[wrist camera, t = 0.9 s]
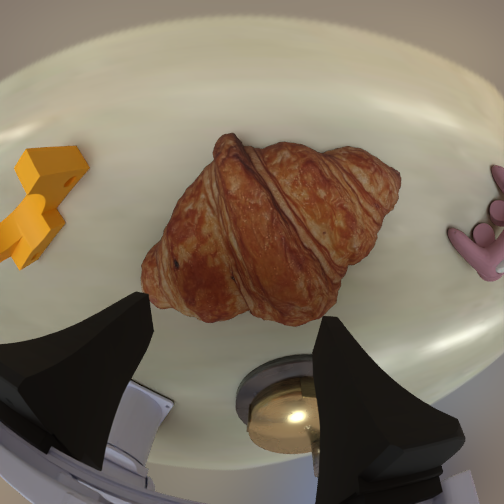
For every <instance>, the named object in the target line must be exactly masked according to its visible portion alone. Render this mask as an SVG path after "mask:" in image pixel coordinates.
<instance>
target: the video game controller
mask: <svg viewBox="0 0 504 504" xmlns="http://www.w3.org/2000/svg"><path fill="white" fill-rule="evenodd" d="M491 171H492V174H493V177H494V179H495V181H496V183H497V185H498V186H499V188H500V189H501V191H502V192H503V194H504V168H503V167H501V166H497V165H494V166H493V167H492V170H491ZM490 218H491V221H492V222H493V223H494V224H495V225H497V226H504V201H501V200H496V201H494V202H493V203H492V204H491V206H490ZM448 237H449V239H450V241H451V243H452V244H453V246H454V247H455V248H456V250H457V251H458V252H459V253H460V254H461V255H462V257H463V258H464V259H465V260H466V261H467V262H468V263H469V264H470V265H471V266H472V267H473V268H474V269H475V270H476V271H477V273H478V274H479V276H480V277H481V278H482V279H484V280H485V281H489V282H490V281H495V280H498V279H499V278H501V276H502V275H503V274H504V230H503V231H502V233H501V234H500V235H499V237H498V238H497V239H496V240H495V234H494V231H493V229H492V227H491V226H490V225H488V224H486V223H481V224H479V225H477V226H476V227H475V229H474V232H473V239H474V242H473V241H472V240H471V239H470V238H469V237H467V236H466V235H465V234H464V233H463V232H461V231H459V230H458V229H455V228H450V229H449V230H448Z"/></svg>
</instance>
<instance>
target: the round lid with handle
mask: <svg viewBox="0 0 504 504" xmlns="http://www.w3.org/2000/svg"><path fill="white" fill-rule="evenodd" d="M247 432H249V436H250V438H251V440H252V441H253V442H254V443H255V444H256V445H258V446H259V447H261V448H263V449H265V450H268V451H272V452H276V453H283V454H299V453H307V452H312V457H313V466H314V475H315V477H318V473H319V454H320V424H319V414H318V406H317V399H316V393H315V386H314V379H313V377H296V378H290V379H286V380H282V381H279V382H276V383H274V384H272V385H269V386H268V387H266V388H264V389H263V390H261V391H260V392H259V393H258V394H257V395H256V396H255V397H254V399H253V400H252V402H251V404H249V410H248V421H247Z"/></svg>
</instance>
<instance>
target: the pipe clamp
mask: <svg viewBox="0 0 504 504" xmlns="http://www.w3.org/2000/svg"><path fill="white" fill-rule="evenodd" d="M14 169H15V171H16V174H17V176H18V178H19V180H20V182H21V184H22V186H23V188H24V190H25V192H26V194H27V195H26V196H25V198H24V199H23V201H22V202H21V203H20V204H19V206H18V207H17V208H16V209H15V210H14V211H13V212H12V213H11V214H10V215H9V216H8V217H7V218H5V219H4V220H3V221H2V222H1V223H0V262H2V261H3V260H5V259H7V258H9V257H12V259H13V260H14V262H15V264H16V265H17V267H18V269H19V270H21V269H23V268H25V267H26V266H28V265H30V264H31V263H33V262H35V261H36V260H38V259H39V257H40V256H41V254H42V253H43V252H44V250H45V249H46V248H47V246H48V245H49V244H50V242H51V241H52V240H53V238H54V237H55V236H56V234H57V233H58V232H59V231H60V229H61V228H62V227H63V226H64V224H65V221H64V220H63V218H62V216H61V215H60V213H59V212H58V210H57V207H58V206H59V204H60V203H61V202H62V200H63V199H64V198H65V197H66V195H67V194H68V193H69V192H70V190H71V189H72V188H73V187H74V186H75V184H76V183H77V182H78V181H79V180H80V179H81V178H82V176H83V175H84V174H85V173H86V172H87V171H88V170H89V169H90V167H89V166H88V164H87V162H86V161H85V159H84V158H83V156H82V154H81V153H80V151H79V149H78V148H77V146H60V147H42V148H29V149H26V150H25V151H24V153H23V154H22V156H21V157H20V159H19V161H18V162H17V164H16V166H15V168H14Z"/></svg>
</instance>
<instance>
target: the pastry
mask: <svg viewBox="0 0 504 504" xmlns="http://www.w3.org/2000/svg"><path fill="white" fill-rule="evenodd" d="M213 157H214V160H213V161H212V162H211V163H210V164H209V165H207V166H206V167H205V168H204V170H203V171H202V172H201V174H200V175H199V176H198V177H197V179H196V180H195V181H194V182H193V183H192V184H191V185H190V186H189V187H188V188H187V189H186V191H185V193H184V194H183V195H182V197H181V198H180V199H179V200H178V202H177V204H176V206H175V208H174V210H173V213H172V216H171V219H170V221H169V222H168V224H167V226H166V227H165V229H164V233H163V236H162V238H161V240H160V241H159V242H158V243H157V244H155V245H154V246H153V247H152V248H151V249H150V251H149V252H148V253H147V255H146V257H145V259H144V261H143V263H142V265H141V267H142V274H141V286H142V291H143V293H147V294H149V300H150V302H152V303H153V304H154V305H155V306H156V307H157V308H159V309H167V308H174V309H175V310H177V311H180V312H181V313H182V314H184V315H186V316H189V317H196V318H197V319H198V320H202V321H204V322H206V323H214V322H216V321H225V320H229V319H232V318H234V317H235V316H237V315H238V314H242V313H244V312H246V311H249V310H250V313H251V314H252V315H253V316H255V317H258V318H262V319H263V320H271V321H276V322H278V323H281V324H284V325H287V326H294V327H296V326H299V325H303V324H306V323H307V322H309V321H312V320H316V319H320V318H321V317H322V316H323V315H324V314H325V313H326V312H327V311H328V310H329V309H330V308H331V307H332V306H333V305H334V304H335V303H336V301H337V296H338V290H339V288H340V287H341V279H342V278H343V277H344V276H345V274H346V272H347V268H348V265H355V264H357V263H358V262H360V261H361V260H362V259H363V258H365V257H366V256H367V255H368V254H369V252H370V251H371V250H372V249H373V247H374V246H375V242H376V240H377V233H378V231H379V230H380V228H381V226H382V222H383V219H384V217H385V215H386V214H388V213H389V212H390V211H391V210H393V209H394V205H395V204H396V203H397V201H398V199H399V196H398V192H399V189H400V187H401V177H400V172H398V171H397V170H395V169H394V168H392V167H389V166H387V165H386V164H385V163H383V162H382V161H380V160H379V159H378V158H377V157H375V156H373V155H371V154H370V153H368V152H367V151H365V150H363V149H361V148H353V147H349V146H346V147H342V148H337V149H334V150H331V151H326V152H324V153H318V152H316V151H315V150H313V149H311V148H309V147H307V146H304V145H302V144H296V143H288V142H279V143H277V144H274V145H271V146H268V147H266V148H263V149H260V148H253V147H252V146H243V145H242V142H241V141H240V140H239V139H238V138H237V136H236V135H235V134H234V133H229V134H224V135H222V136H221V137H220V138H219V139H218V140H217V142H216V144H215V147H214V150H213Z"/></svg>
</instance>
